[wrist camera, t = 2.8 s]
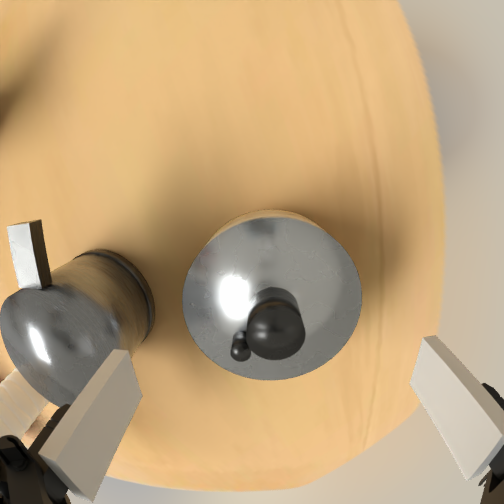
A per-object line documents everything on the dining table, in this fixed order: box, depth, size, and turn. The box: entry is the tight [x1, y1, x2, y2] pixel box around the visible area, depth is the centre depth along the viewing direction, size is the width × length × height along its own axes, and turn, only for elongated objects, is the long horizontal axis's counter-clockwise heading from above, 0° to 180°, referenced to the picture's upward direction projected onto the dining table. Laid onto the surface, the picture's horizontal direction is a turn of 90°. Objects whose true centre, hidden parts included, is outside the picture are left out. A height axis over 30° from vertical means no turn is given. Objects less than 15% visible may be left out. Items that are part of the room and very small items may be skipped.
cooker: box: [0, 220, 155, 408], centre depth 19 cm, size 18×10×10 cm, turn 3°
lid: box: [182, 209, 362, 380], centre depth 17 cm, size 11×11×7 cm
